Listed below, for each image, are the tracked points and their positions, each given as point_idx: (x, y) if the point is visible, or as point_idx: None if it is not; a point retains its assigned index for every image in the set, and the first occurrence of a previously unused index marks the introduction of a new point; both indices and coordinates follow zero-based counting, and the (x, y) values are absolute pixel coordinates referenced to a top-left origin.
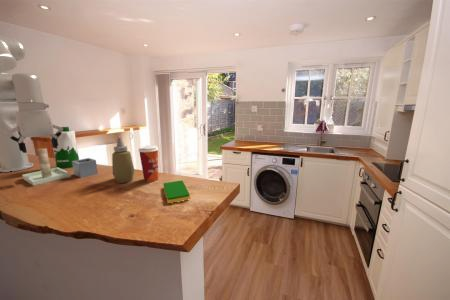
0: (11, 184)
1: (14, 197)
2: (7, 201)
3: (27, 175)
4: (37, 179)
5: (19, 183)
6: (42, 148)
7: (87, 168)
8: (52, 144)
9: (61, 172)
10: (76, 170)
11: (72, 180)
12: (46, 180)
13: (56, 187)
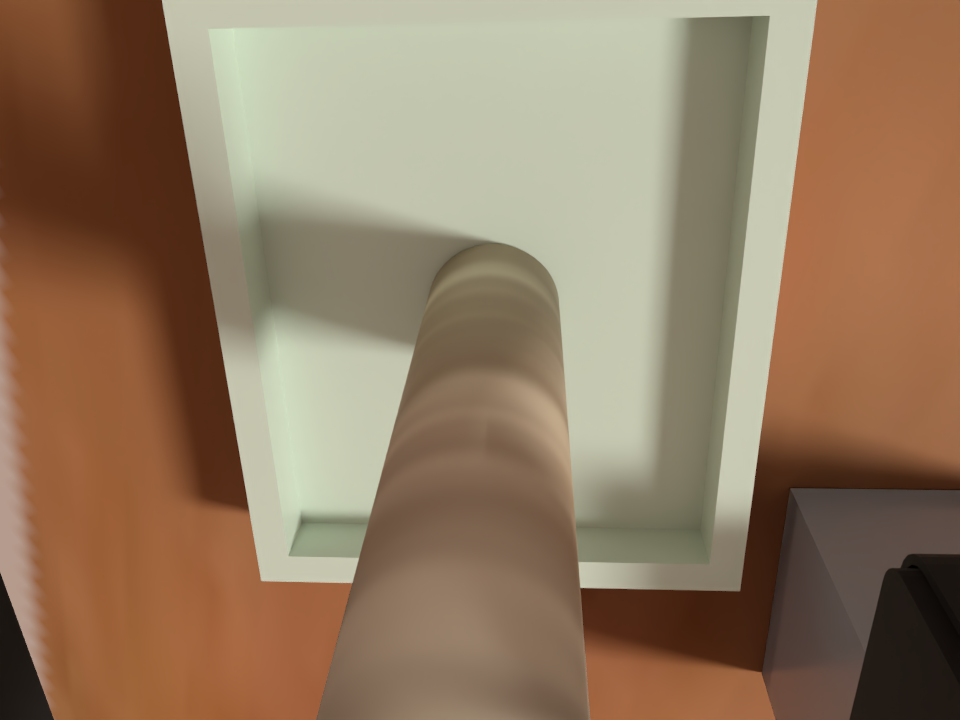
0: (51, 47)
1: (110, 638)
2: (63, 687)
3: (247, 26)
4: (356, 325)
5: (151, 105)
6: (495, 688)
7: None
8: (938, 695)
9: (727, 289)
10: (809, 678)
11: (686, 612)
12: None
13: None
